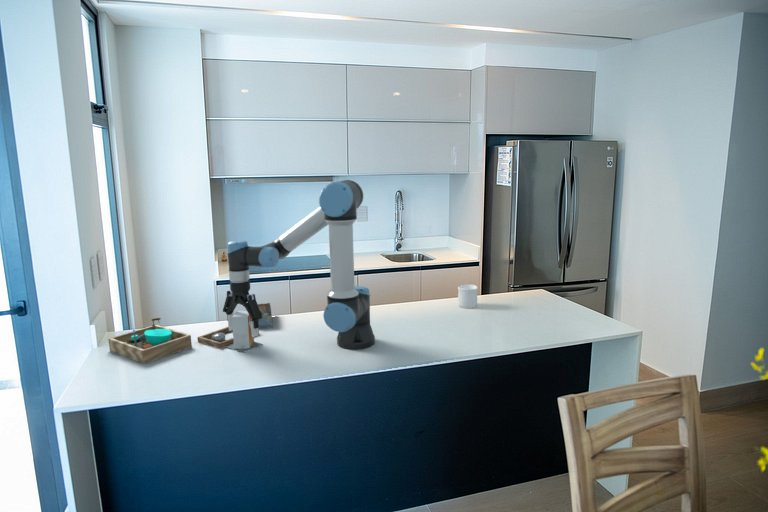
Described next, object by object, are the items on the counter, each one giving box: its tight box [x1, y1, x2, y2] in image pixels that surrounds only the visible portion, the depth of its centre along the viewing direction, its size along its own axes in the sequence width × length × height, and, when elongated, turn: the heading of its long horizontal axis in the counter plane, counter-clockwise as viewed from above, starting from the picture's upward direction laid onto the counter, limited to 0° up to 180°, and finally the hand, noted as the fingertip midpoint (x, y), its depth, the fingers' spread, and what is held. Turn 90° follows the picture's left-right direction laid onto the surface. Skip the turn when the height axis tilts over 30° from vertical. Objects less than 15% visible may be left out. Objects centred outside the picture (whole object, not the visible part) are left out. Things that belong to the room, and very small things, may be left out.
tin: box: [211, 333, 227, 342], centre depth 213 cm, size 5×5×3 cm
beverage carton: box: [254, 302, 273, 330], centre depth 237 cm, size 8×19×7 cm, turn 14°
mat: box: [225, 341, 263, 354], centre depth 207 cm, size 10×10×1 cm
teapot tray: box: [108, 324, 193, 365], centre depth 205 cm, size 24×20×5 cm
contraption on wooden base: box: [125, 317, 172, 349], centre depth 204 cm, size 14×18×15 cm
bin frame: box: [197, 326, 260, 350], centre depth 217 cm, size 14×20×2 cm
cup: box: [457, 283, 479, 309], centre depth 256 cm, size 10×10×10 cm
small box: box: [232, 310, 255, 349], centre depth 206 cm, size 8×6×13 cm
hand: (243, 332), depth 206 cm, fingers open, 13 cm apart
